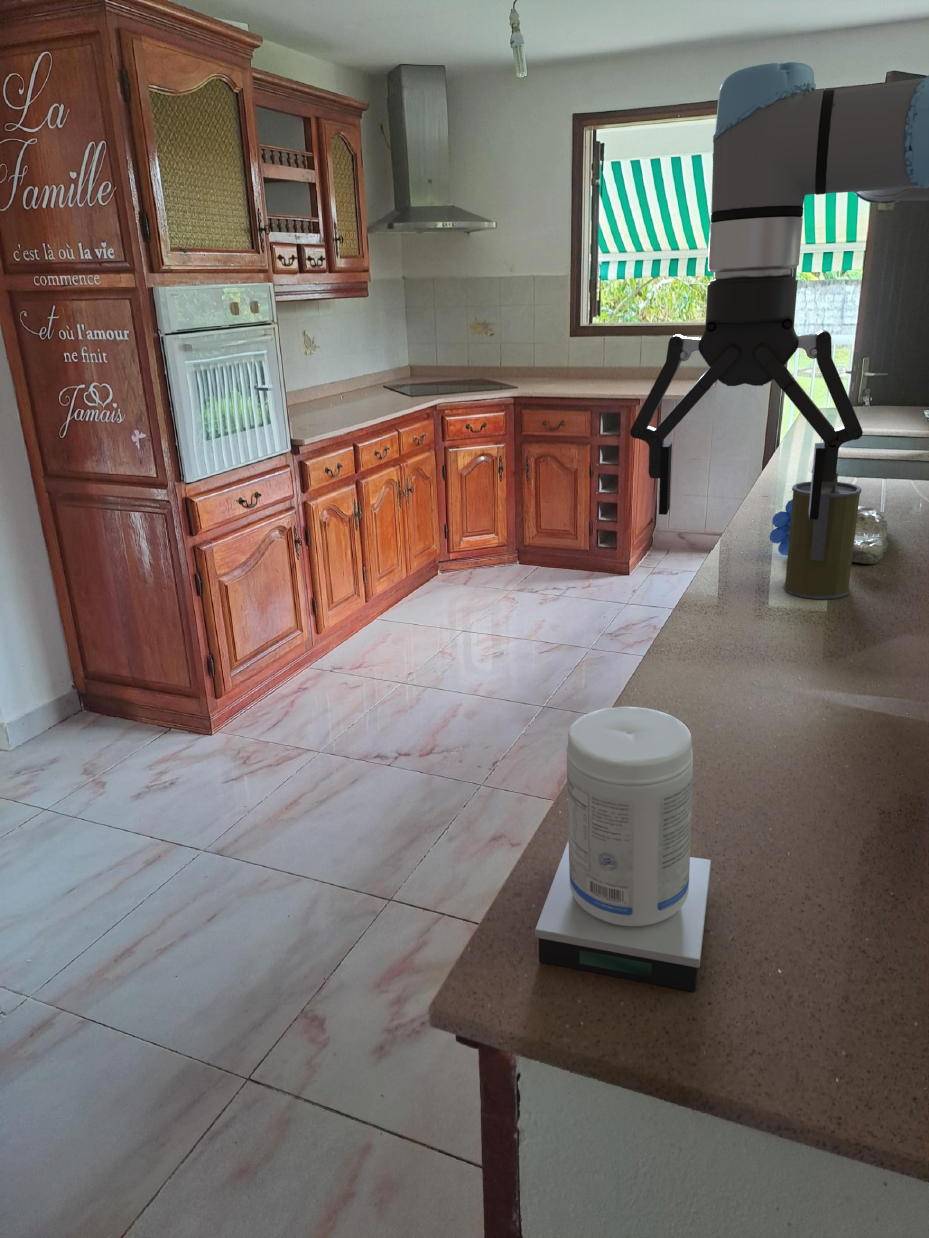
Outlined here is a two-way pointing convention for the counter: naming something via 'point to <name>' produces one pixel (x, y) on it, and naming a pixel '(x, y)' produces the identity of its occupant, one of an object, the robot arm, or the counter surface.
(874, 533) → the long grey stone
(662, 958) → the kitchen scale
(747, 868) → the counter surface
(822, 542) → the canister
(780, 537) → the grapes
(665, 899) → the supplement tub
